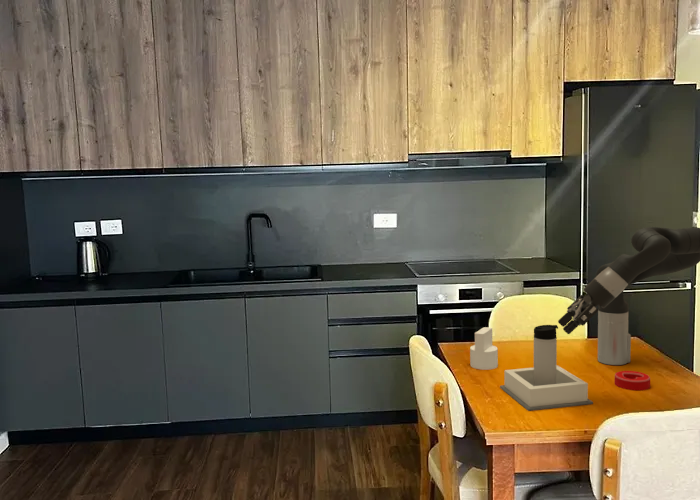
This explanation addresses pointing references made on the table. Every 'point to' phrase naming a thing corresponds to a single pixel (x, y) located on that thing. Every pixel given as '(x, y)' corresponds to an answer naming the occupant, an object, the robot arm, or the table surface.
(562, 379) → the square shallow tray
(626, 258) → the robot arm
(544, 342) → the travel mug
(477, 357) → the cylinder with rectangular tab
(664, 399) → the table surface
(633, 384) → the decorative ornament
